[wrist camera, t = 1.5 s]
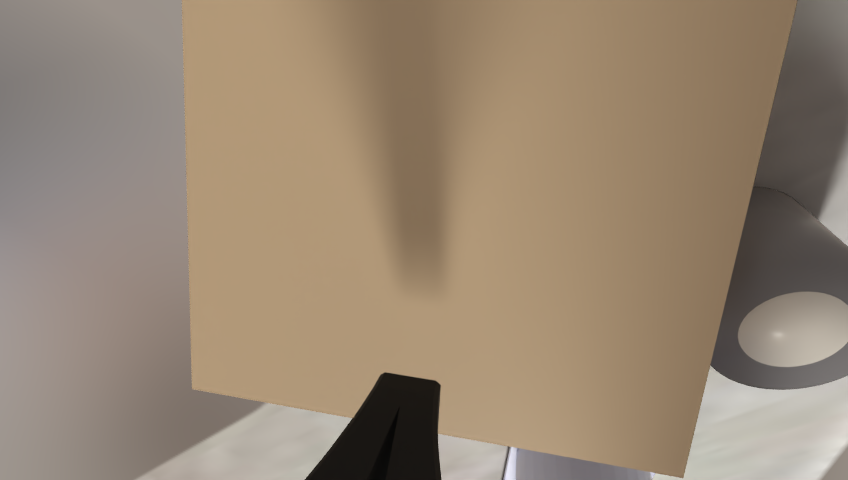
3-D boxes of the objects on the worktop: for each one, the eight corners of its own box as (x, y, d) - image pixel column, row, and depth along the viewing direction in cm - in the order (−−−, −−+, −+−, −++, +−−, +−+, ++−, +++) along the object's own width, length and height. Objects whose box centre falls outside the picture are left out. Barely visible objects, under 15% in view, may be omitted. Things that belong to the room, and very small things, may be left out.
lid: (674, 462, 13) (683, 478, 12) (204, 379, 15) (192, 389, 14) (800, -76, 10) (818, -89, 9) (195, -85, 12) (179, -96, 11)
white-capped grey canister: (776, 305, 19) (847, 402, 15) (646, 288, 20) (677, 376, 16) (837, 194, 16) (946, 273, 12) (683, 180, 17) (734, 250, 13)
